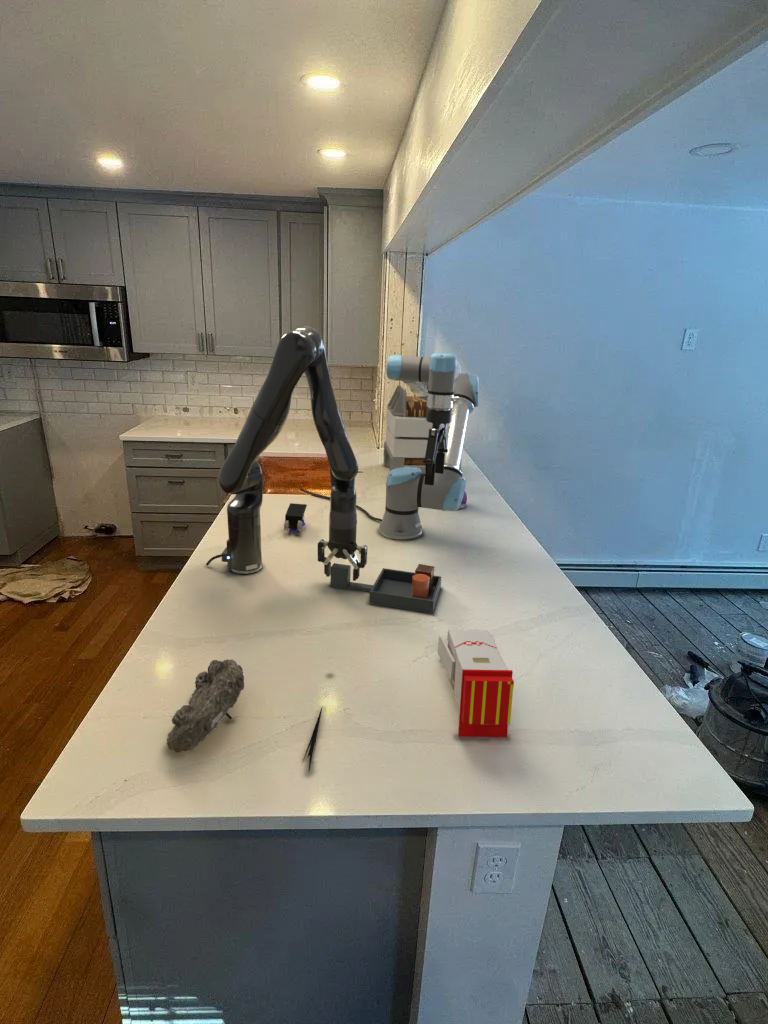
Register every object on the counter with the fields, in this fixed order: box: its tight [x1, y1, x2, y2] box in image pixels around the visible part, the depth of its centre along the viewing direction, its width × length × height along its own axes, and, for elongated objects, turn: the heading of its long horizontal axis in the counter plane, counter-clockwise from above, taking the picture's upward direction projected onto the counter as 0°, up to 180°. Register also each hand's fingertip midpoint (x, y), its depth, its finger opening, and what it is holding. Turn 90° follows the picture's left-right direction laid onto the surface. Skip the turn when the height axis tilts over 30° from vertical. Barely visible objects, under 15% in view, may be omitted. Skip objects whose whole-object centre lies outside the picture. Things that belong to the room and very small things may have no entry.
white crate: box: [383, 384, 463, 472], centre depth 268 cm, size 34×33×41 cm
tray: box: [329, 562, 442, 614], centre depth 158 cm, size 30×15×6 cm, turn 77°
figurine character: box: [283, 502, 308, 536], centre depth 198 cm, size 7×8×15 cm
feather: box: [301, 673, 332, 771], centre depth 108 cm, size 2×28×2 cm
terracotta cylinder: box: [411, 574, 430, 599], centre depth 152 cm, size 5×5×7 cm
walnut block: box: [414, 563, 436, 596], centre depth 158 cm, size 4×4×7 cm
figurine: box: [457, 469, 468, 510], centre depth 228 cm, size 9×10×15 cm
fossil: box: [166, 658, 245, 754], centre depth 106 cm, size 22×10×15 cm
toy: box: [437, 628, 515, 738], centre depth 117 cm, size 12×13×30 cm
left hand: (341, 577), depth 160 cm, fingers open, 7 cm apart
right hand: (434, 478), depth 172 cm, fingers open, 13 cm apart
